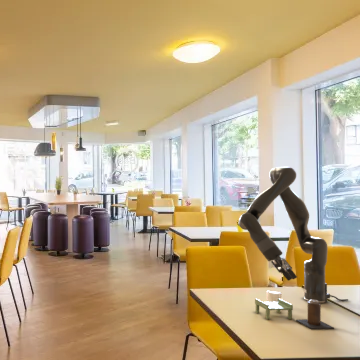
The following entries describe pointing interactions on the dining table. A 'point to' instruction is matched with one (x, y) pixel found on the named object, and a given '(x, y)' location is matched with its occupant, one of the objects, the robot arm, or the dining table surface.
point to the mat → (322, 326)
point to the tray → (274, 307)
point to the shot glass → (273, 296)
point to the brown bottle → (314, 312)
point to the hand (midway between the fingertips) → (292, 279)
